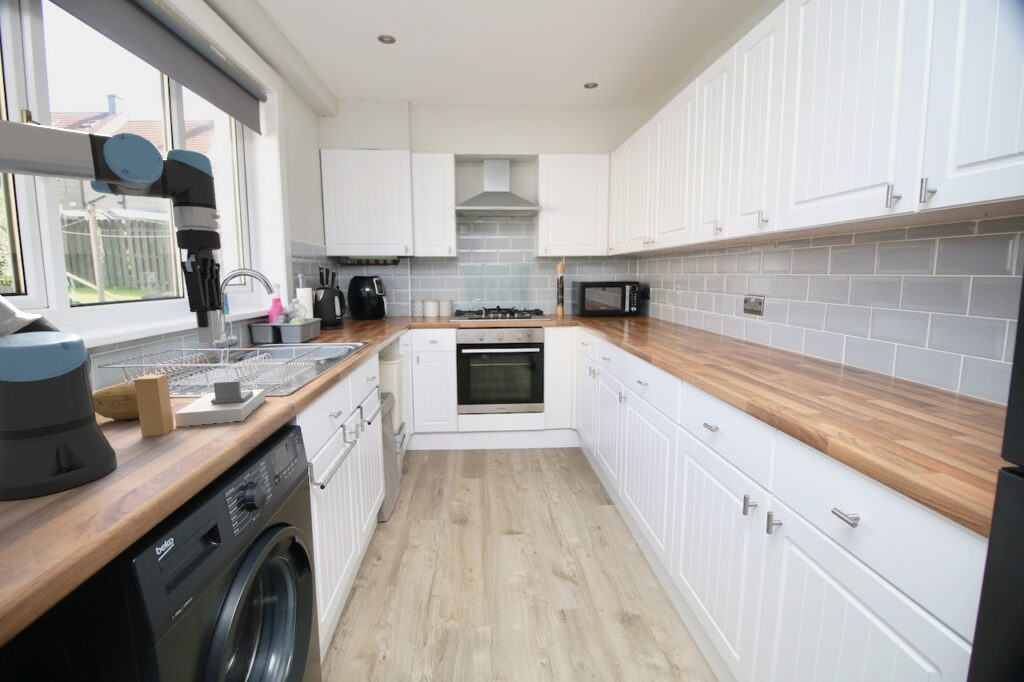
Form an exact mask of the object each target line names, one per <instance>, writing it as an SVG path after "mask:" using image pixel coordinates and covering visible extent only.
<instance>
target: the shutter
mask: <svg viewBox="0 0 1024 682" xmlns="http://www.w3.org/2000/svg"><path fill="white" fill-rule="evenodd" d="M240 382H241V381H240V380H229V381H228V380H226V381H216V382H215V381H214V383H213V387H214V388H213V389H214V393H215V398H214V399H212V400H211V404H215V403H229V402H243V401H245V400H246V399H248V398H249V397H250V396H251V395H253V391H246V392H241V391H242V390H241V383H240Z"/></svg>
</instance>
